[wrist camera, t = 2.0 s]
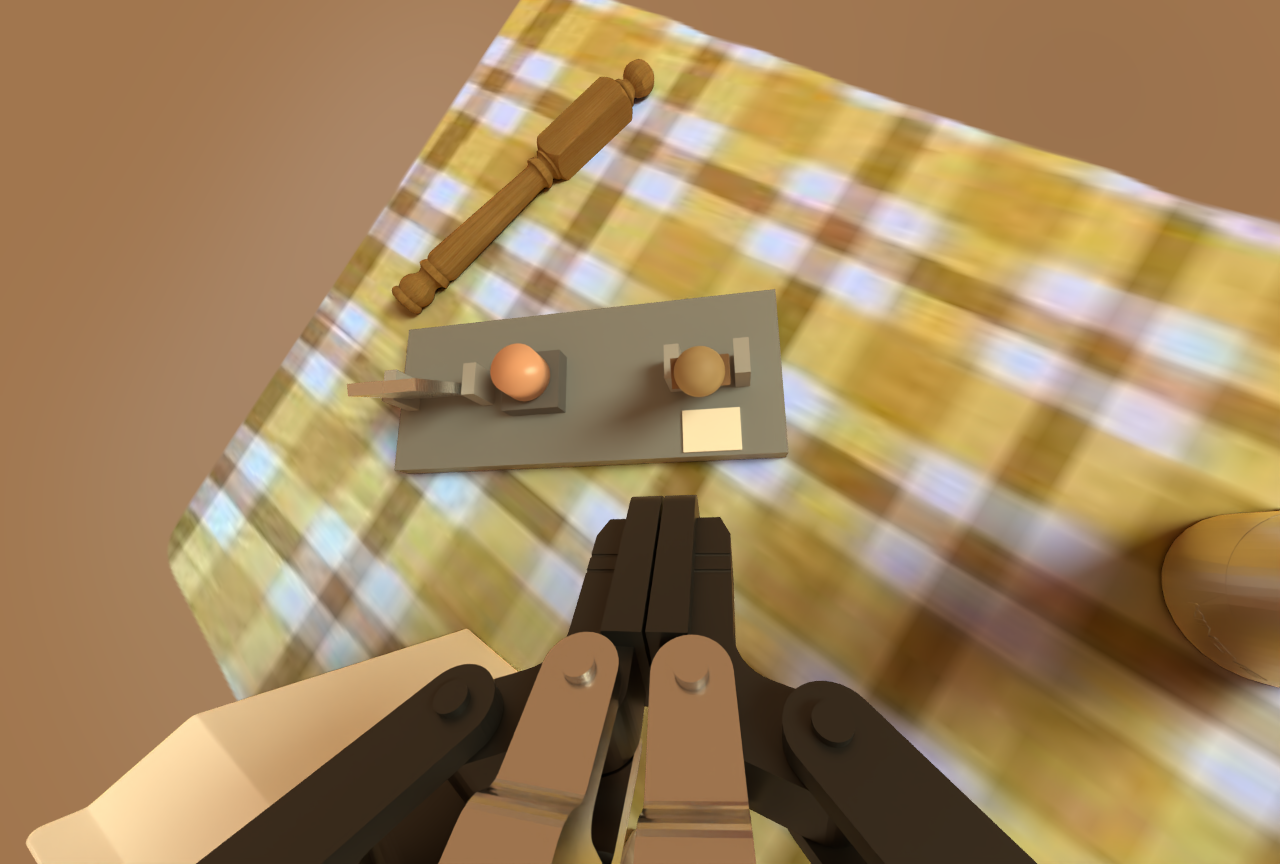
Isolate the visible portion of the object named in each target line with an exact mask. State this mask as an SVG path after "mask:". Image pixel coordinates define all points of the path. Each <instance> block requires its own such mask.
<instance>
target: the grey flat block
mask: <svg viewBox="0 0 1280 864" xmlns="http://www.w3.org/2000/svg"><path fill="white" fill-rule="evenodd" d="M347 389H348V396H352V397H378V398H403V399H425V398H438V397H451V396H463V395H461V389H462V383H458V382H448V381H438V380H429V379H419V378H410V379H399V380H388V381H376V382H365V383H354V384H347Z"/></svg>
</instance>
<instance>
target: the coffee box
mask: <svg viewBox="0 0 1280 864" xmlns="http://www.w3.org/2000/svg"><path fill="white" fill-rule="evenodd" d="M635 835H636V830H634V831H632V833H631V835H630V837H629V838H628V840H627V842H626V844H625V846H624V847H623V851H622V856H621V862H620V864H633V861H634V846H635Z"/></svg>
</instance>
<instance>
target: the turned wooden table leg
mask: <svg viewBox="0 0 1280 864" xmlns="http://www.w3.org/2000/svg"><path fill="white" fill-rule="evenodd" d="M653 86H654V74H653V71H652V69H651V67H650V66H649V64H648V63H646V62H645V61H643V60H641V59H637V60H634V61H632V62H630V63H629V64H628V65H627V66H626V67H625V70H624V74H623V80H620V79H617V80H614V79H612V78H608V77H599V78H598V79H597V80H596V81H595V82H594V83H593V84H592V85H591V86H590V87H589V88H588V89H587V90H586V91H585V92H584V93H582V94H581V95H580V96H579V97H578V98H577V99H576V100H575V101H574V102H573V103H572V104H571V105H570V106H569V107H568V108H567V109H566V110H565V111H564V112H563V113H562V114H561V115H559V116H558V117H557V118H556V119H555V120H554V121H553V122H552V123H551V124H550V125H549V126H548V127H547V128H546V129H545V130H544V131H543V132H542V133H541V134H540V135H539V136H538V137H537V146H538V151H537V155H538V156H537V158H530V159H529V160H527V161H528V166H527V168H526V169H524V170H523V171H522V172H521V173H520V174H519V175H518V176H516V177H515V178H514V179H513V180H512V181H511V182H510V183H508V184H507V185H506V186H505V187H504V188H503V189H502V190H500V191H499V192H498V193H497V194H496V195H495V196H494V197H492V198H491V199H490V200H489V201H488V202H487V203H486V204H484V205H483V206H482V207H481V208H480V209H479V210H478V211H476V212H475V213H474V214H473V215H472V216H471V217H470V218H468V219H467V220H466V221H465V222H464V223H463V224H462V225H460V226H459V227H458V228H457V229H456V230H455V231H454V232H452V233H451V234H450V235H449V236H448V237H447V238H446V239H444V240H443V241H442V242H441V243H440V244H439V245H438V246H436V247H435V248H434V249H433V250H432V251H431V252H430V253H429V255H428V259H425V260H422V261H420V265H421V268H420V270H419V272H417V273H414V274H408V275H406V276H405V277H403V278H402V280H401V281H400V284H399V286H394V287H393V288H392V293H393V295H394V296H395V298H396V299H397V300H398V301H399V302H400V303H401V304H402V305H404V306H405V307H406V308H407V309H408V310H410V311H411V312H413V313H416V314H419V313H421V311H422V307H425V306H428V305H429V304H430V303H431V302H432V301H433V299H434V296H435V291H436V290H437V289H438V288H440V287H444V288H447V287H448V285H449V281H452V280H455V279H456V278H457V277H458V276H459V275H460V274H461V273H462V272H463V271H464V270H465V269H466V268H467V267H468V266H469V265H470V264H471V263H472V262H473V261H474V260H475V259H476V258H477V257H478V256H479V255H480V253H481V252H482V251H483V250H484V249H485V248H486V247H487V246H488V245H489V244H490V243H491V242H492V241H493V240H494V239H495V238H496V237H497V236H498V235H499V234H500V233H501V232H502V231H503V230H504V229H505V228H506V227H507V225H508V224H509V223H510V222H511V221H512V220H513V219H514V218H515V217H516V216H517V215H518V214H519V213H520V212H521V211H522V210H523V209H524V208H525V207H526V206H527V205H528V204H529V203H530V202H531V201H532V200H533V199H534V198H535V196H536V195H537V194H538V193H539V192H540V191H541V190H542V189H543V188H545V187H548V188H550V187H551V186H552V184H553V179H554V178H556V179H558V180H559V179H560V178H561V179H563V180H569V179H570V178H572V177H573V176H574V175H575V174H576V173H577V172H578V171H579V170H580V169H581V168H582V167H583V166H584V165H585V164H586V163H587V162H588V161H589V160H591V159H592V158H593V157H594V156H595V155H596V154H597V153H598V152H599V151H600V150H601V149H602V148H603V147H604V146H605V145H606V144H607V143H608V142H610V141H611V140H612V139H613V138H614V137H615V136H616V135H617V134H618V133H619V132H620V131H621V130H622V129H623V128H624V127H625V126H626V125H627V124H629V123H630V122H631V121H632V107H633V105H634V98H642V97H645V96H647V95H648V94H650V92H651V91H652V89H653Z"/></svg>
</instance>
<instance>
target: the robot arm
mask: <svg viewBox="0 0 1280 864" xmlns="http://www.w3.org/2000/svg"><path fill="white" fill-rule="evenodd" d="M1162 589H1163V594H1164V598H1165V602H1166V605H1167V607H1168V609H1169V611H1170V613H1171V616H1172V618H1173V620H1174V622H1175V623H1176V625H1177V626H1178V627H1179V629H1180V630H1181V631H1182V633H1183V634H1184V635H1185V637H1186V638H1187V639H1188V640H1189V641H1190V642H1191V643H1192V644H1193V645H1194V646H1195V647H1196V648H1197V649H1198V650H1199V651H1200V652H1201V653H1202V654H1204V655H1205V656H1207V657H1208V658H1210V659H1211V660H1212V661H1214V662H1215V663H1217V664H1218V665H1220V666H1221V667H1223V668H1225V669H1227V670H1229V671H1231V672H1233V673H1235V674H1237V675H1240V676H1242V677H1244V678H1247V679H1251V680H1254V681H1257V682H1261V683H1264V684H1268V685H1271V686H1275V687H1278V688H1280V510H1279V511H1269V512H1252V513H1237V514H1226V515H1218V516H1215V517H1212V518H1208V519H1205V520H1202V521H1200V522H1198V523H1196V524H1194V525H1193V526H1191V527H1189V528H1187V529H1186V530H1185V531H1184V532H1183V533H1182V534H1181V535H1180V536H1179V537H1177V538H1176V539H1175V540H1174V542H1173V544H1172V545H1171V547H1170V549H1169V550H1168V552H1167V554H1166V557H1165V560H1164V564H1163V568H1162ZM644 706H646V707H649V709H648V731H647V753H646V775H645V796H644V806H643V811H642V813H641V814H640V816H639V818H638V822H637V828H636V835H635V846H634V861H633V864H756V858H755V850H754V841H753V833H752V825H751V817H750V812H749V809H751V810H753V811H755V812H757V813H758V814H760V815H762V816H764V817H766V818H768V819H770V820H772V821H774V822H776V823H778V824H780V825H782V826H784V827H786V828H788V830H789V832H790V834H791V835H792V837H793V838H794V840H795V841H796V843H797V844H798V845H799V847H800V848H801V850H802V851H803V852H804V854H805V855H806V857H807V858H808V859H809V861H810V862H811V864H1037V863H1036V862H1035V861H1034V860H1033V859H1032V858H1031V857H1030V856H1029V855H1028V854H1027V853H1026V852H1024V851H1023V850H1022V849H1021V848H1020V847H1019V846H1018V845H1017V844H1016V843H1015V842H1014V841H1013V840H1012V839H1011V838H1010V837H1009V836H1008V835H1007V834H1006V833H1005V832H1003V831H1002V830H1001V829H1000V828H999V827H998V826H997V825H996V824H995V823H994V822H993V821H992V820H991V819H990V818H989V817H988V816H987V815H986V814H985V813H983V812H982V811H981V810H980V809H979V808H978V807H977V806H976V805H975V804H974V803H973V802H972V801H971V800H970V799H969V798H968V797H967V796H966V795H965V794H964V793H962V792H961V791H960V790H959V789H958V788H957V787H956V786H955V785H954V784H953V783H952V782H951V781H950V780H949V779H948V778H947V777H946V776H945V775H944V774H942V773H941V772H940V771H939V770H938V769H937V768H936V767H935V766H934V765H933V764H932V763H931V762H930V761H929V760H928V759H927V758H926V757H925V756H924V755H923V754H921V753H920V752H919V751H918V750H917V749H916V748H915V747H914V746H913V745H912V744H911V743H910V742H909V741H908V740H907V739H906V738H905V737H904V736H903V735H901V734H900V733H899V732H898V731H897V730H896V729H895V728H894V727H893V726H892V725H891V724H890V723H889V722H888V721H887V720H886V719H885V718H884V717H883V716H882V715H880V714H879V713H878V712H877V711H876V710H875V709H874V708H873V707H872V706H871V705H870V704H869V703H868V702H867V701H866V700H865V699H863V698H862V697H861V696H860V695H859V694H857V693H856V692H854V691H853V690H851V689H850V688H847V687H845V686H843V685H841V684H837V683H834V682H828V681H814V682H809V683H806V684H803V685H801V686H800V687H798V688H797V689H794V688H791V687H788V686H786V685H783V684H780V683H778V682H775V681H772V680H770V679H768V678H765V677H763V676H762V675H760V674H758V673H757V672H755V671H754V670H753V669H752V668H750V667H749V666H748V665H747V664H746V662H745V661H744V660H743V659H742V657H741V656H740V654H739V652H738V650H737V648H736V638H735V611H734V583H733V567H732V552H731V537H730V533H729V531H728V529H727V528H726V526H725V524H724V523H723V521H722V519H721V518H720V517H709V518H700V516H699V507H698V499H697V495H679V496H665V498H664V497H663V496H648V497H632V498H631V501H630V505H629V509H628V513H627V518H626V519H610V521H609V522H608V523H607V524H606V525H605V527H604V528H603V529H602V530H601V531H600V533H599V534H598V535H597V537H596V541H595V544H594V548H593V551H592V558H590V561H589V565H588V568H587V573H586V575H585V578H584V582H583V585H582V589H581V592H580V595H579V599H578V602H577V606H576V609H575V612H574V616H573V619H572V623H571V626H570V629H569V632H568V635H567V637H566V638H564V639H562V640H561V641H559V642H558V643H557V644H556V645H555V646H554V647H553V648H552V649H551V650H550V651H549V653H548V654H547V655H546V657H545V659H544V661H543V663H541V664H539V665H537V666H535V667H532V668H529V669H527V670H523V671H520V672H516V673H513V674H509V675H506V676H502V677H499V678H495V679H493V677H492V675H491V674H490V672H489V671H488V670H487V669H486V668H484V667H482V666H480V665H477V664H463V665H458V666H455V667H453V668H450V669H448V670H446V671H445V672H443V673H441V674H440V675H439V676H437V677H436V678H435V679H433V680H432V681H431V682H429V683H428V684H427V685H426V686H424V687H423V688H422V689H420V690H419V691H418V692H417V693H415V694H414V695H413V696H411V697H410V698H409V699H407V700H406V701H405V702H404V703H402V704H401V705H400V706H398V707H397V708H396V709H395V710H393V711H392V712H391V713H389V714H388V715H387V716H386V717H384V718H383V719H382V720H380V721H379V722H378V723H377V724H375V725H374V726H373V727H371V728H370V729H369V730H368V731H366V732H365V733H364V734H362V735H361V736H360V737H358V738H357V739H356V740H355V741H353V742H352V743H351V744H349V745H348V746H347V747H346V748H344V749H343V750H342V751H340V752H339V753H338V754H337V755H335V756H334V757H333V758H331V759H330V760H329V761H328V762H326V763H325V764H324V765H322V766H321V767H320V768H319V769H317V770H316V771H315V772H313V773H312V774H311V775H309V776H308V777H307V778H306V779H304V780H303V781H302V782H300V783H299V784H298V785H297V786H295V787H294V788H293V789H291V790H290V791H289V792H288V793H286V794H285V795H284V796H282V797H281V798H280V799H279V800H277V801H276V802H275V803H273V804H272V805H271V806H269V807H268V808H267V809H266V810H264V811H263V812H262V813H260V814H259V815H258V816H257V817H255V818H254V819H253V820H251V821H250V822H249V823H248V824H246V825H245V826H244V827H242V828H241V829H240V830H239V831H237V832H236V833H235V834H233V835H232V836H231V837H230V838H228V839H227V840H226V841H224V842H223V843H222V844H220V845H219V846H218V847H217V848H215V849H214V850H213V851H211V852H210V853H209V854H208V855H206V856H205V857H204V858H202V859H201V860H200V861H199V862H197V863H196V864H620V862H621V856H622V851H623V846H624V840H625V835H626V830H627V825H628V819H629V814H630V809H631V804H632V798H633V793H634V788H635V782H636V777H637V772H638V767H639V761H640V756H641V749H642V740H641V729H642V721H643V713H644Z"/></svg>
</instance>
